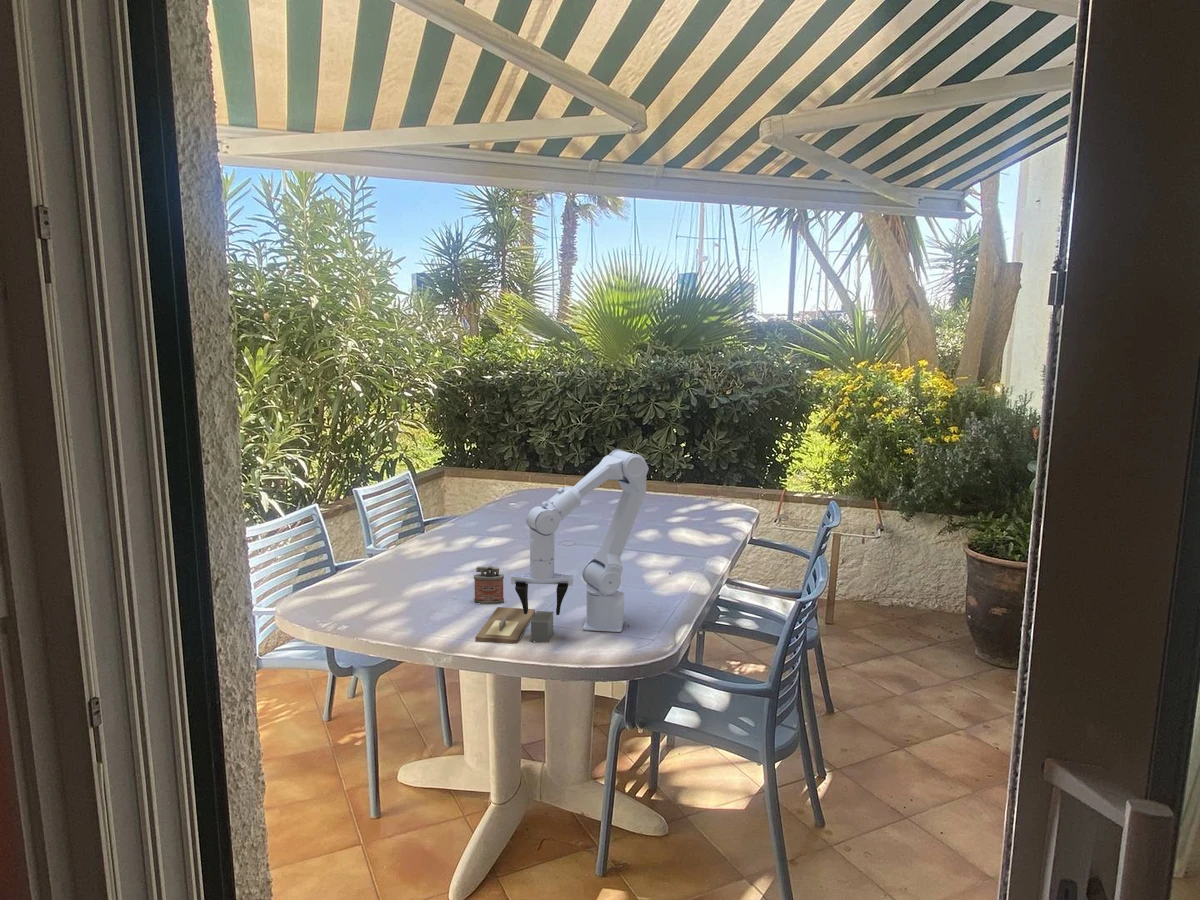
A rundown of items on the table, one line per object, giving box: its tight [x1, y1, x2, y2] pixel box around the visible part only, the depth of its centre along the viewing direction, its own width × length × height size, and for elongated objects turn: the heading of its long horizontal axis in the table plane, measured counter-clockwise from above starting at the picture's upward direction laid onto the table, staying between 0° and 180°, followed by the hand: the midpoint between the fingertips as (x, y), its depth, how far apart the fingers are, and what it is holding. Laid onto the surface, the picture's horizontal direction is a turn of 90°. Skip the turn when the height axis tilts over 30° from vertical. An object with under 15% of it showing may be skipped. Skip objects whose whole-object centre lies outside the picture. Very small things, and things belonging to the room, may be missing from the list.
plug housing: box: [530, 610, 554, 643], centre depth 173 cm, size 4×7×5 cm, turn 173°
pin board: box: [474, 606, 536, 644], centre depth 180 cm, size 10×20×3 cm, turn 173°
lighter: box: [473, 565, 505, 605], centre depth 196 cm, size 8×3×10 cm, turn 92°
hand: (542, 613), depth 173 cm, fingers open, 7 cm apart
